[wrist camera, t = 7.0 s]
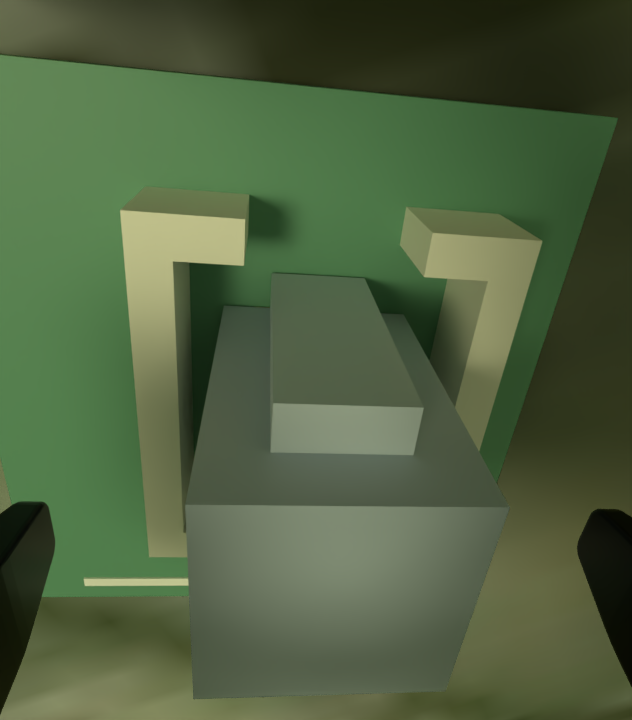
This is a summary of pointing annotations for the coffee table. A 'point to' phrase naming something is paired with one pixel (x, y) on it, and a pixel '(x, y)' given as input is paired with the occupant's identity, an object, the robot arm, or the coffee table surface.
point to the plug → (331, 504)
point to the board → (247, 270)
